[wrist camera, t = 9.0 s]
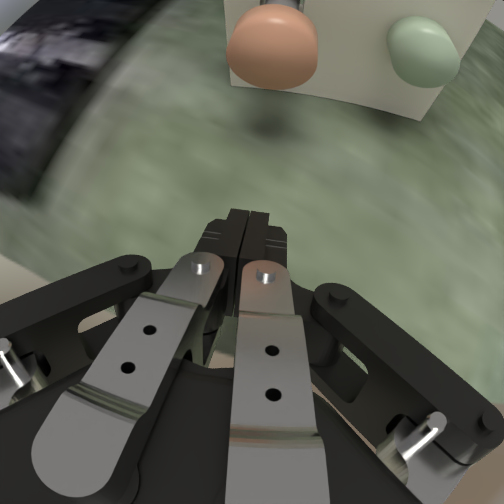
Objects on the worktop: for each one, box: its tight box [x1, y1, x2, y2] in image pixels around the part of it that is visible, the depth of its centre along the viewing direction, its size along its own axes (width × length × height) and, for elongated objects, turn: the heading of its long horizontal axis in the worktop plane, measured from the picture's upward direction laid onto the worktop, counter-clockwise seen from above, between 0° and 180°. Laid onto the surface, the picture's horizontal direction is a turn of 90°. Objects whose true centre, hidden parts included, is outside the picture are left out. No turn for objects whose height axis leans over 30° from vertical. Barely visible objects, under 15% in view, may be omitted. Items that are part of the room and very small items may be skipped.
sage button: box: [386, 16, 460, 88], centre depth 16 cm, size 5×8×5 cm, turn 171°
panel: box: [224, 0, 504, 121], centre depth 17 cm, size 19×4×17 cm, turn 81°
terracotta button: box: [226, 0, 318, 90], centre depth 15 cm, size 5×8×5 cm, turn 171°
